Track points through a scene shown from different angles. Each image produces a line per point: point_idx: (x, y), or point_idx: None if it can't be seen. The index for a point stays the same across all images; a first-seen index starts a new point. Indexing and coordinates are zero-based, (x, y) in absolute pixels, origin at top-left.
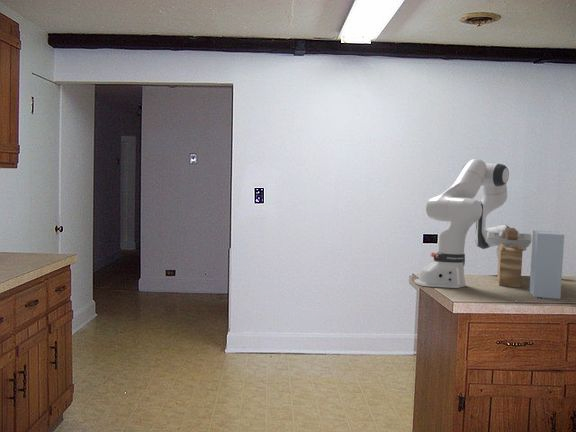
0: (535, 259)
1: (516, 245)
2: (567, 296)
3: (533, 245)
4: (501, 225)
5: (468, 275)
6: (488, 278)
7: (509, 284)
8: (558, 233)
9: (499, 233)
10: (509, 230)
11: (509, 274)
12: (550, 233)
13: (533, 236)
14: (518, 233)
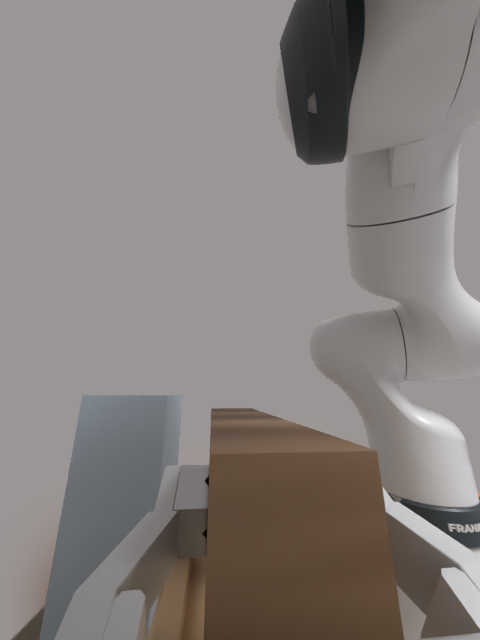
0: (177, 461)
1: (179, 633)
2: (40, 622)
3: (170, 440)
4: None
5: None
6: None
7: None
8: (122, 394)
9: (477, 580)
10: (248, 410)
11: None
12: (148, 394)
13: (169, 413)
14: (123, 553)
